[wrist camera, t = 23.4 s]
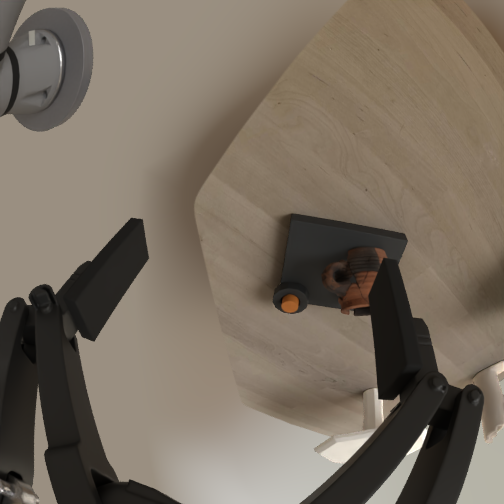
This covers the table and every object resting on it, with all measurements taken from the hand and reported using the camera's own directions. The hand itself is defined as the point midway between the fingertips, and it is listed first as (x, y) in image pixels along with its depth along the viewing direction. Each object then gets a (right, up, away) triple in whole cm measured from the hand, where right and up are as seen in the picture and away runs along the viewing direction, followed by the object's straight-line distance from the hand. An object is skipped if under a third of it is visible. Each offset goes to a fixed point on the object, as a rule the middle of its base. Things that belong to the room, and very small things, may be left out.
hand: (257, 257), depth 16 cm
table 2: (+30, -35, +50) cm, 68 cm away
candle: (+64, -31, +39) cm, 82 cm away
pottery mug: (+15, -2, +27) cm, 31 cm away
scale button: (+6, -7, +31) cm, 32 cm away
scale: (+13, -2, +29) cm, 32 cm away
